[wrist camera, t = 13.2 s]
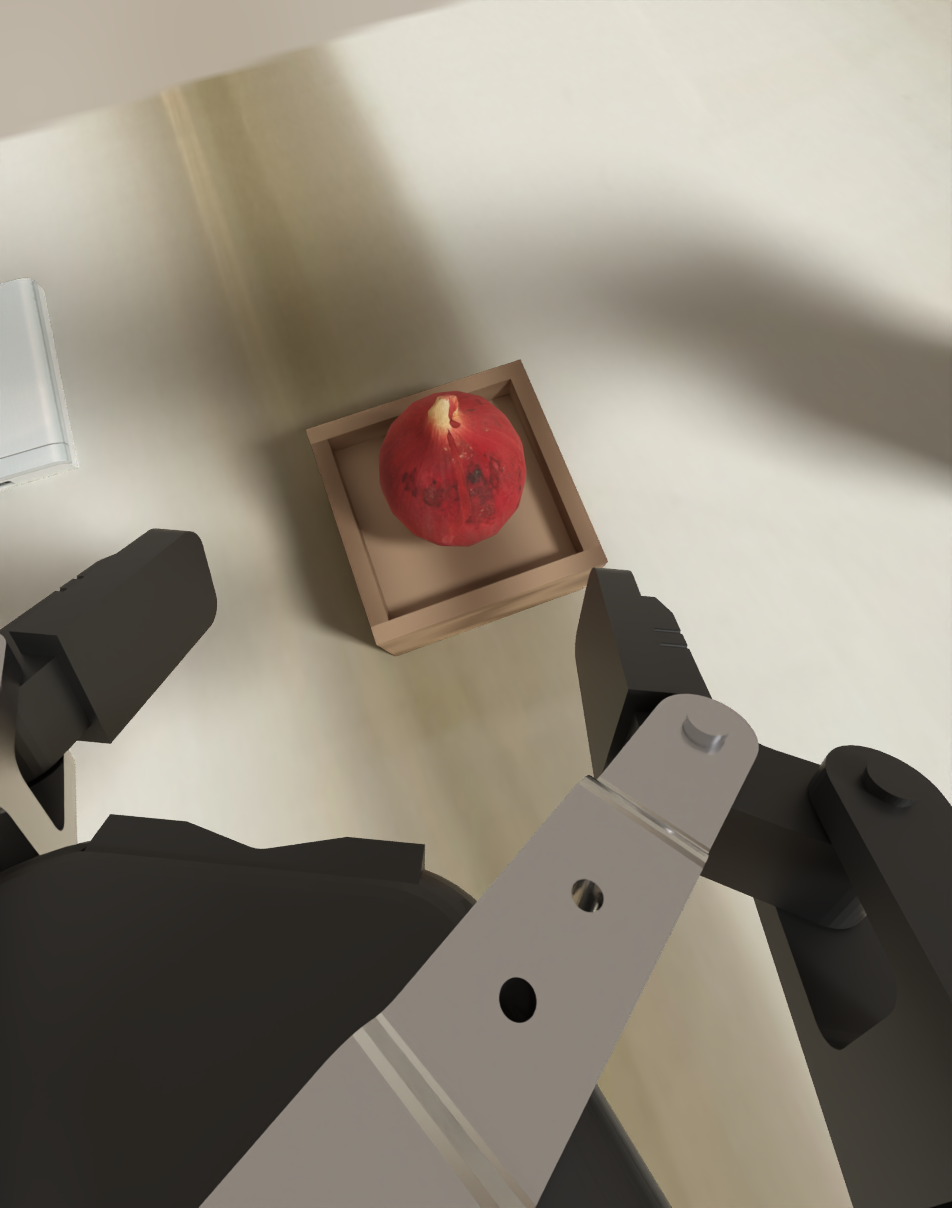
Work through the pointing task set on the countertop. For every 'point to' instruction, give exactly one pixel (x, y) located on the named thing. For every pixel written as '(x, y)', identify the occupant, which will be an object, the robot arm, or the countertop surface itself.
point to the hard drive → (30, 390)
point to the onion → (452, 468)
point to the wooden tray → (454, 573)
